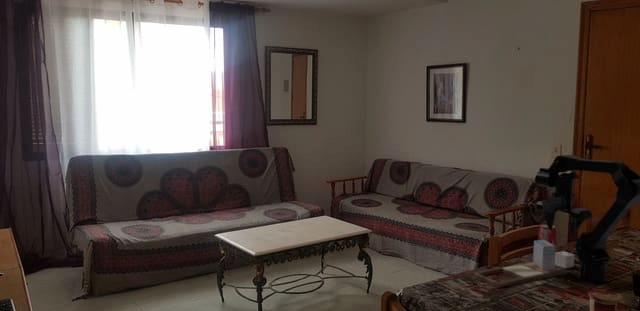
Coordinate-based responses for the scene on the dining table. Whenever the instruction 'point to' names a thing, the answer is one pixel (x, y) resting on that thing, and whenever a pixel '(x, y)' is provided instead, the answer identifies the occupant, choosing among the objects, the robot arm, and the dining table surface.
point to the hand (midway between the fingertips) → (561, 232)
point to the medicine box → (544, 255)
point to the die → (564, 259)
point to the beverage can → (548, 234)
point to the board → (518, 274)
